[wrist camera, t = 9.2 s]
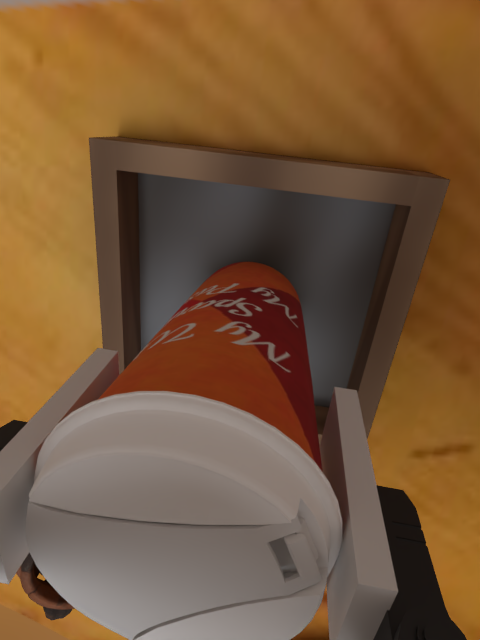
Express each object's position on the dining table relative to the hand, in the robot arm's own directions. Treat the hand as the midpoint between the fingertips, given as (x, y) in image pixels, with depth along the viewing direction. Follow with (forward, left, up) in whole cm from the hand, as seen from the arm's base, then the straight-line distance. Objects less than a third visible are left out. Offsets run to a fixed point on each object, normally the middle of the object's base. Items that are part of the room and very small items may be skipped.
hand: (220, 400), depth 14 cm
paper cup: (0, 0, -8) cm, 8 cm away
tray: (0, 0, -10) cm, 10 cm away
